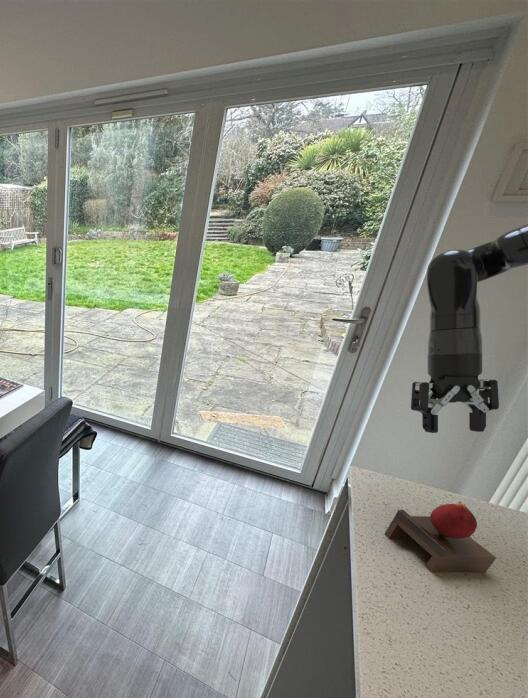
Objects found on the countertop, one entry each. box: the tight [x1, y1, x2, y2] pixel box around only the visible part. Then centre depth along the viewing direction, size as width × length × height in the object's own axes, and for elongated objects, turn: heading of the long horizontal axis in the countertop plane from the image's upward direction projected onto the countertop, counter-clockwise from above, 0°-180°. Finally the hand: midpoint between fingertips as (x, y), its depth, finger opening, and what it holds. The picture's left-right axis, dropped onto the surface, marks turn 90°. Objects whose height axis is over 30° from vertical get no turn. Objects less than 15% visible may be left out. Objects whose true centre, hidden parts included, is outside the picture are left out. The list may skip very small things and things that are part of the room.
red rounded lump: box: [430, 501, 478, 539], centre depth 75 cm, size 6×6×8 cm
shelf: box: [384, 509, 497, 574], centre depth 78 cm, size 10×10×7 cm
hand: (453, 431), depth 83 cm, fingers open, 8 cm apart
